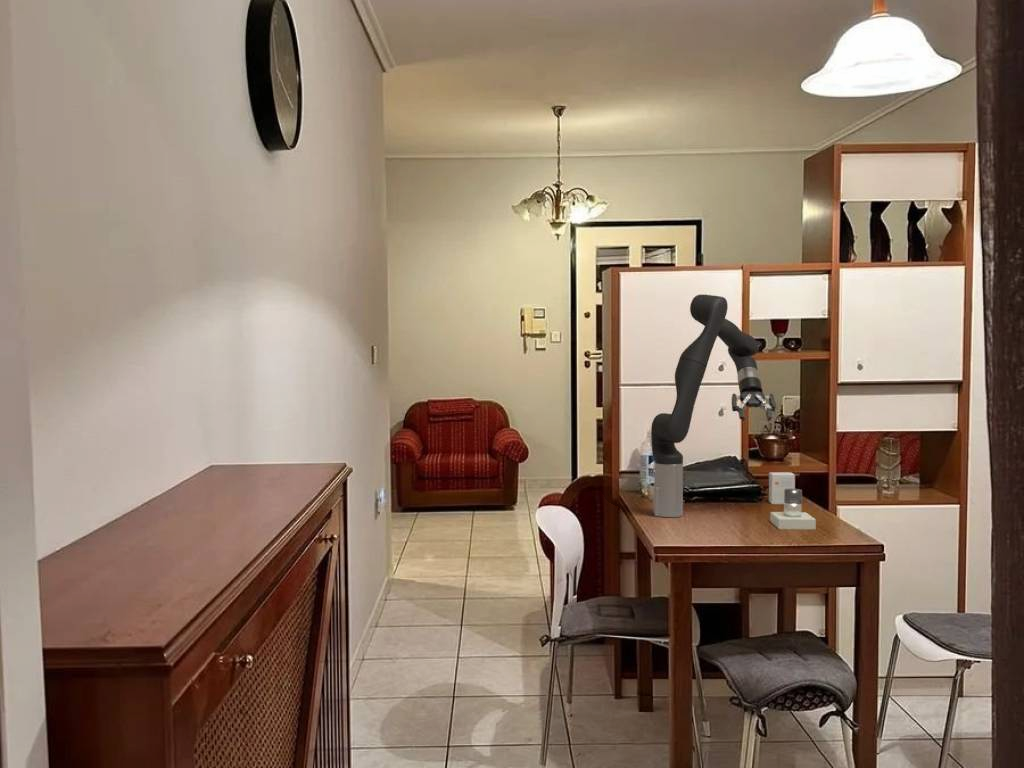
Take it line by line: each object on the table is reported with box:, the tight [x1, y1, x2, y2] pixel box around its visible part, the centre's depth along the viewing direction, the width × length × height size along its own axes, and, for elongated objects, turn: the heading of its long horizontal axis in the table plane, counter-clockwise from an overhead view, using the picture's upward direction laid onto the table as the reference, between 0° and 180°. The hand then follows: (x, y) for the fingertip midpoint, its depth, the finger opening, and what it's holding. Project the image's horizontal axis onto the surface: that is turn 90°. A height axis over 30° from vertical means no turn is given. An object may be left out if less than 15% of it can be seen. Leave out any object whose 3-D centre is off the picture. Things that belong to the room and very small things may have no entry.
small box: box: [768, 471, 796, 505], centre depth 317 cm, size 8×6×10 cm
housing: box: [783, 488, 803, 517], centre depth 281 cm, size 5×5×8 cm
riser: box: [769, 511, 817, 530], centre depth 281 cm, size 11×11×3 cm
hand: (756, 419), depth 302 cm, fingers open, 8 cm apart
